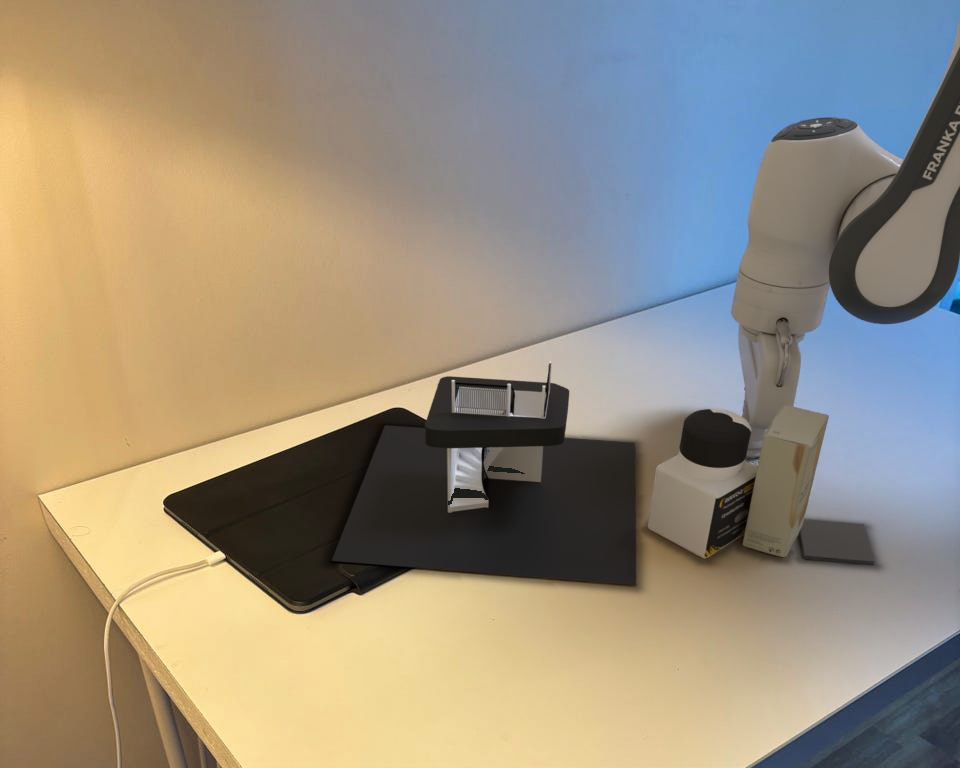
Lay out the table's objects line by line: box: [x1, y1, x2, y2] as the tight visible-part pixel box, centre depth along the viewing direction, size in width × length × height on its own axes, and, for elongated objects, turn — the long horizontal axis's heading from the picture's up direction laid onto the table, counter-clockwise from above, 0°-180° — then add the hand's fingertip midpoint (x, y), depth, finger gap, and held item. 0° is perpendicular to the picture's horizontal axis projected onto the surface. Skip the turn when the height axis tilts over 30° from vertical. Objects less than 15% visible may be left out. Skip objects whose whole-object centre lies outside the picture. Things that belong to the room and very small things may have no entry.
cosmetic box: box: [742, 405, 830, 558], centre depth 91 cm, size 6×4×12 cm
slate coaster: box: [798, 518, 876, 566], centre depth 94 cm, size 6×6×1 cm
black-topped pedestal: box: [331, 361, 637, 586], centre depth 96 cm, size 28×26×13 cm
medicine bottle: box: [647, 408, 758, 559], centre depth 92 cm, size 7×7×12 cm
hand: (752, 427), depth 106 cm, fingers closed on rook chess piece, 3 cm apart
